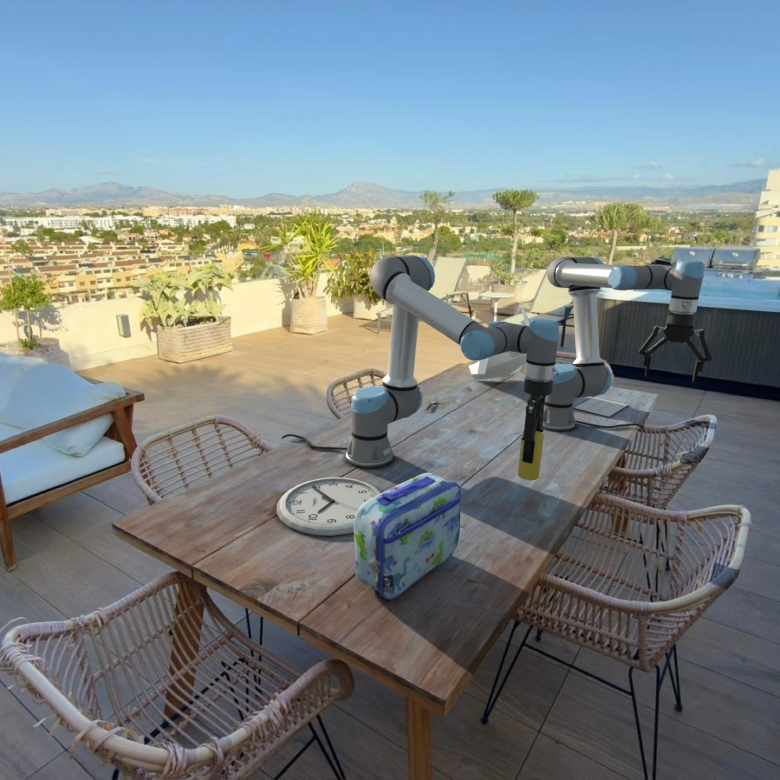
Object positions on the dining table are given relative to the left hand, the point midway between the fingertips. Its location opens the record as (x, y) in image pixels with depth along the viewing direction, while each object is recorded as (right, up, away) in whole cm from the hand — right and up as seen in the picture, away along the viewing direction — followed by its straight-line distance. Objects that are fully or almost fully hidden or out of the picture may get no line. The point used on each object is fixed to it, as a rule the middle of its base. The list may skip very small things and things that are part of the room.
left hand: (530, 457), depth 146 cm
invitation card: (+52, +12, +80) cm, 96 cm away
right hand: (+50, +22, +21) cm, 59 cm away
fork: (-22, +12, +78) cm, 81 cm away
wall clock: (-55, -13, -3) cm, 56 cm away
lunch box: (-35, -22, -30) cm, 51 cm away
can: (0, -5, +2) cm, 6 cm away
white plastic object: (+18, +20, +106) cm, 109 cm away
